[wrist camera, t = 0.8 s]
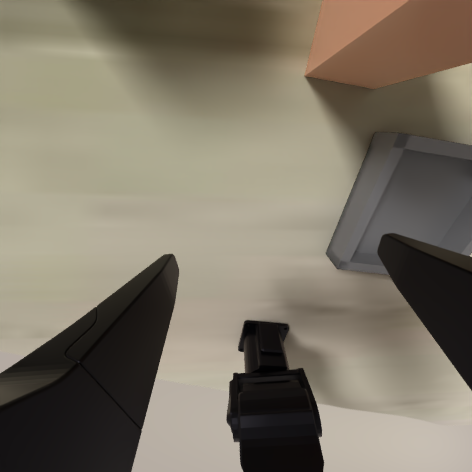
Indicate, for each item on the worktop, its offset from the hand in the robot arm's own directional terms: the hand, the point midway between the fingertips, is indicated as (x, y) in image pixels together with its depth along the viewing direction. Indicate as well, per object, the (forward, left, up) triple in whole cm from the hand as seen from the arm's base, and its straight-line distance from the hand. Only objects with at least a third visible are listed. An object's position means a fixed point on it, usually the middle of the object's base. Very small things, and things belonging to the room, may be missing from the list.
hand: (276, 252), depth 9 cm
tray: (-1, -17, -13) cm, 21 cm away
